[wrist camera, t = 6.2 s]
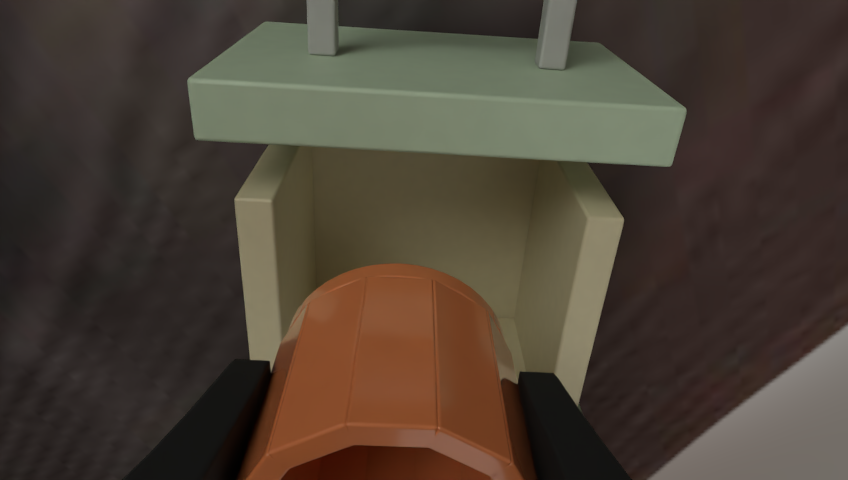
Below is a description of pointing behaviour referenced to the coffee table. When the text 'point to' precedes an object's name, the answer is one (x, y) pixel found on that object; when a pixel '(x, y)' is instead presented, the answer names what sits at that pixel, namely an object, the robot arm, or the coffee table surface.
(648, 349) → the coffee table surface
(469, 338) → the tumbler
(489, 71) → the drawer
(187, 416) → the robot arm
